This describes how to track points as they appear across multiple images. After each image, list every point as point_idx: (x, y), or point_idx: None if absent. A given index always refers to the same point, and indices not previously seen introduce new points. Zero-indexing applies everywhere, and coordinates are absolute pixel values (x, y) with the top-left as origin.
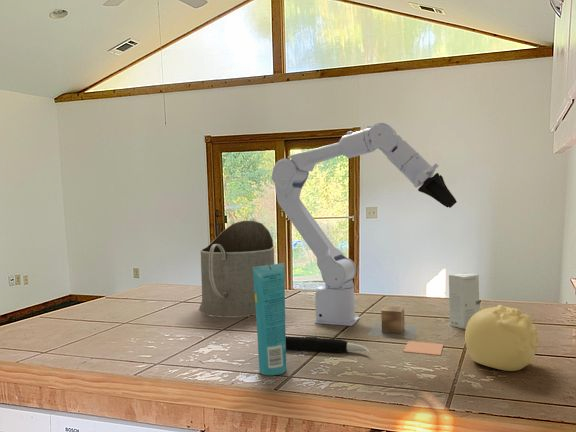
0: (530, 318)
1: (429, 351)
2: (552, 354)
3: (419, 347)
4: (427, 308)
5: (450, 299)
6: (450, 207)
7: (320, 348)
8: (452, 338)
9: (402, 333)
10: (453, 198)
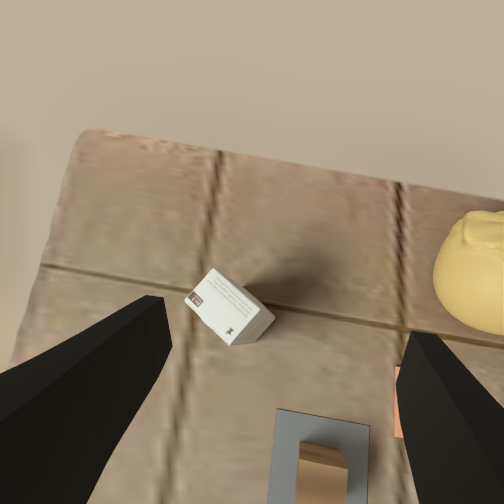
0: (492, 212)
1: None
2: (392, 202)
3: None
4: None
5: (246, 341)
6: (170, 343)
7: None
8: (341, 345)
9: (333, 447)
10: (144, 319)
